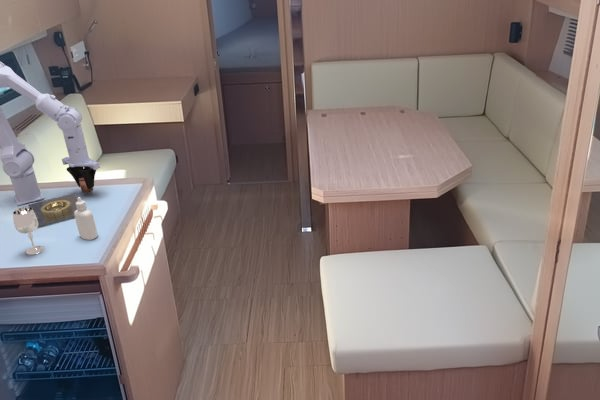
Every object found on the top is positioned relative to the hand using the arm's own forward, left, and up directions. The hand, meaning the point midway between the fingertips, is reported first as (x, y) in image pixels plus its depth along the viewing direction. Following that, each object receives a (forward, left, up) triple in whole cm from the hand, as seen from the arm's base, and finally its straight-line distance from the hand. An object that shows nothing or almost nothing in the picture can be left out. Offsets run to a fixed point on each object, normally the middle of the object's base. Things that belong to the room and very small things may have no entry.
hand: (86, 186), depth 182 cm
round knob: (0, 0, -1) cm, 1 cm away
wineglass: (+30, -20, -3) cm, 36 cm away
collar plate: (+7, -11, -3) cm, 13 cm away
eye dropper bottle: (+31, -6, -3) cm, 32 cm away
